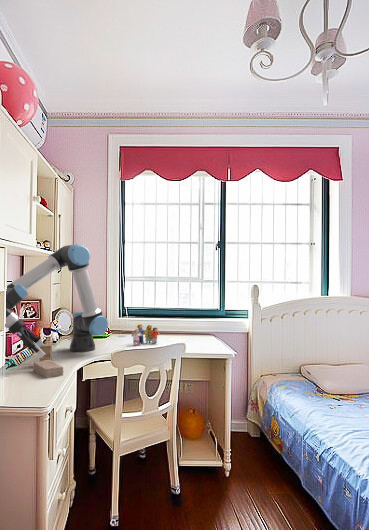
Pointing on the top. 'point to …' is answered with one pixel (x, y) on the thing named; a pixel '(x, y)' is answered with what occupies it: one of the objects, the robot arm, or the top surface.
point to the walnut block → (46, 352)
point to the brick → (48, 368)
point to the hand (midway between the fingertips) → (45, 353)
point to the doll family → (150, 335)
